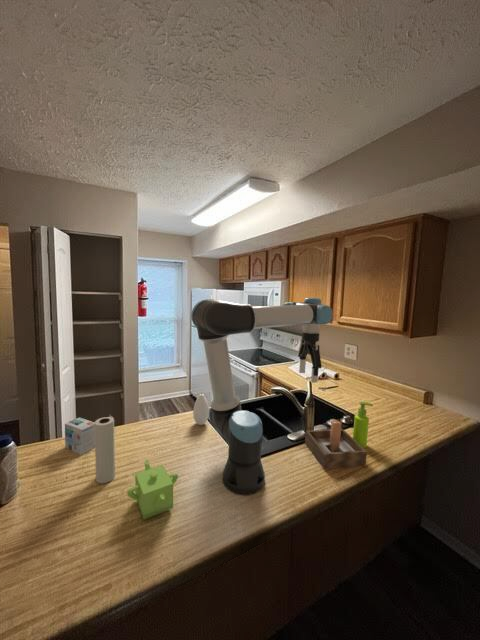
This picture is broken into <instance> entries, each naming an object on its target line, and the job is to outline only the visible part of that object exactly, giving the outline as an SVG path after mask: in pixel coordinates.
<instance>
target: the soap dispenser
mask: <svg viewBox="0 0 480 640" xmlns="http://www.w3.org/2000/svg"><path fill="white" fill-rule="evenodd" d="M359 405H360V407H359V408H358V411H357V414H355V415H354V420H353V421H354V422H353V430H352V431H353V432H352V438H353V439H354V440H355V441H356V442H357V443H358V444H359V445H360V446H362V447H363V448H364V449H365V448H367V444H368V433H369V424H370V423H369V421H370V418H369V417H368V416H367V409H365V408H366V406H371V407H373V406H374V405H373V404H372V403H371V402H367V401H359Z"/></svg>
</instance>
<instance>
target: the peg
mask: <svg viewBox="0 0 480 640" xmlns="http://www.w3.org/2000/svg"><path fill="white" fill-rule="evenodd" d="M330 422H331V424H330V429H331V434H330V446H329V451H330V452H331V453H332V452H339V448H340V436H341V429H342V425H343V423H342V421H339V420H336V419H334V420H333V419H332V420H331V421H330Z"/></svg>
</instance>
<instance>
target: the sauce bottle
mask: <svg viewBox="0 0 480 640" xmlns="http://www.w3.org/2000/svg"><path fill="white" fill-rule="evenodd" d="M200 391H201V392H200V394H199V395H198V397H197V398H196V400H195V402H194V406H193V409H192V410H193V411H192V414H193V415H192V416H193V421H194V422H195V423H196V424H197V425H199V426H202V425H205V424H206V423H207V422H208V420H209V411H210V406H209V402H208V399H207V398H206V397H205V394H204V393H203V390H202V389H201V390H200Z"/></svg>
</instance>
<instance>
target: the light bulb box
mask: <svg viewBox="0 0 480 640" xmlns="http://www.w3.org/2000/svg"><path fill="white" fill-rule="evenodd" d="M64 443H65V446H64V448H65V449H67V450H70V451H71V452H74V453H75V454H78V455H80V456H82V455H84V454H86V453H88V452H90V451H92V450H93V449H95V421H94V422H93V421H91V420H88V419H85V418H82V417H77V418H75V419H72V420H70V421H68V422H66V423H65V422H64Z"/></svg>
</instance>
